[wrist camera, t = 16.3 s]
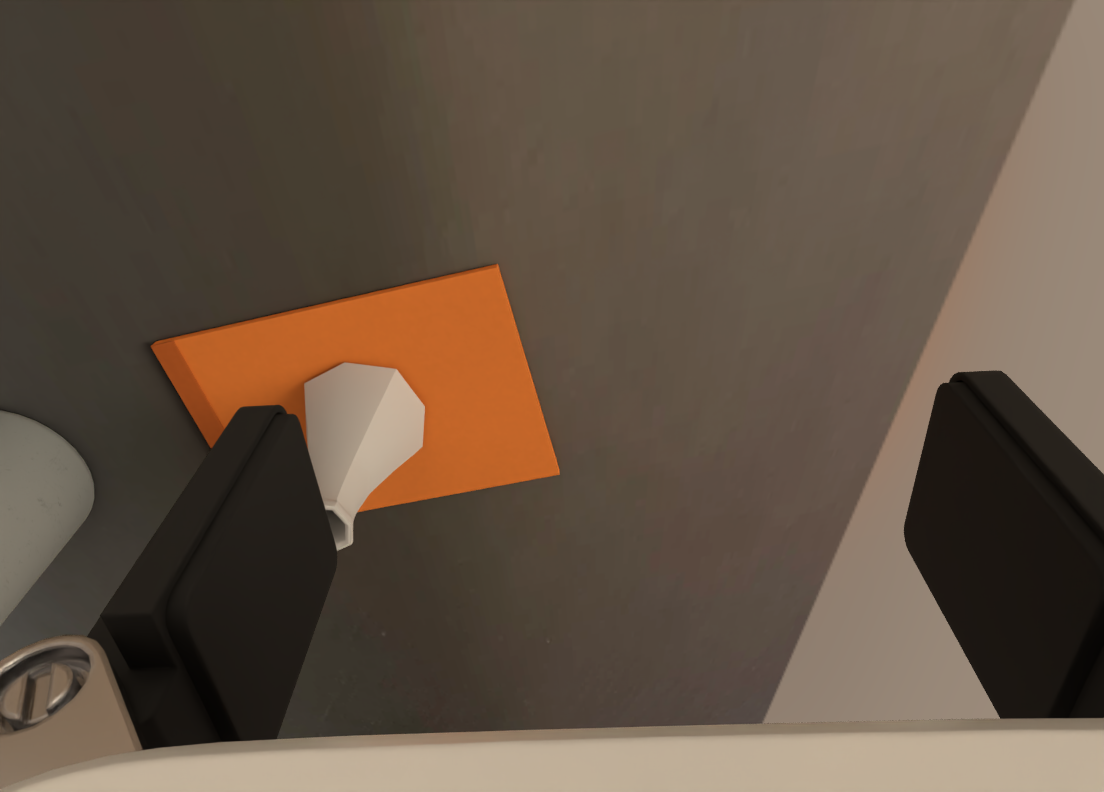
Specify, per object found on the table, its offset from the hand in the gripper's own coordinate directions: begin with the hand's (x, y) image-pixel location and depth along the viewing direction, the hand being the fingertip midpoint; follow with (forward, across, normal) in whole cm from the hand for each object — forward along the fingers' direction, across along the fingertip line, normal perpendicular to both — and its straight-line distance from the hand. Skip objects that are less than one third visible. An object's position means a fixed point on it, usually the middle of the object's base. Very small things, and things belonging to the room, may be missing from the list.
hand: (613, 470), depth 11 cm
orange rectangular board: (+28, +13, +17) cm, 35 cm away
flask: (+28, +13, +17) cm, 35 cm away
